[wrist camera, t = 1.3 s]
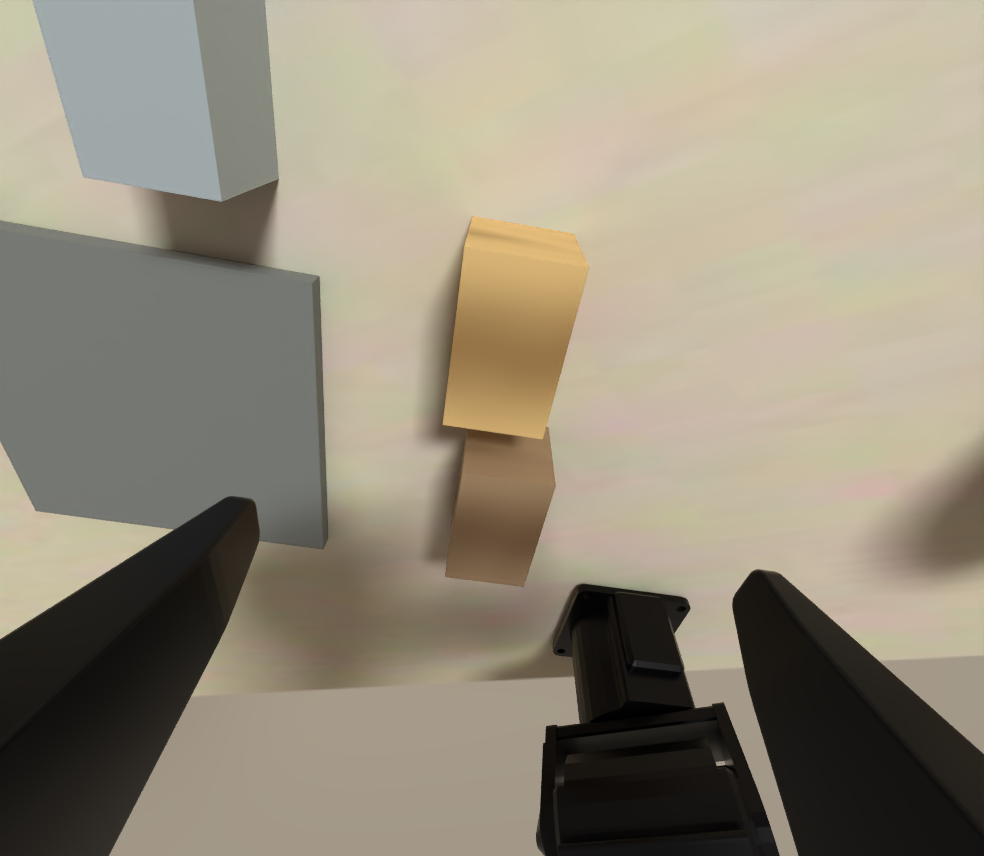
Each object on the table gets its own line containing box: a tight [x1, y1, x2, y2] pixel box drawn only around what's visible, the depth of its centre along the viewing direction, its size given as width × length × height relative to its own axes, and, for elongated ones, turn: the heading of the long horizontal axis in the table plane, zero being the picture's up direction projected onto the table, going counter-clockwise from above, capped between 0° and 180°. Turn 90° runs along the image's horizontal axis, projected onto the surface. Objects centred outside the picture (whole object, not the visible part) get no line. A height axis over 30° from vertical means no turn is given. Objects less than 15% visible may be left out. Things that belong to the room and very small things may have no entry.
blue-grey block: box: [33, 0, 279, 202], centre depth 13 cm, size 6×4×4 cm, turn 171°
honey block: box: [443, 216, 589, 439], centre depth 17 cm, size 6×4×4 cm, turn 171°
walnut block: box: [445, 427, 556, 587], centre depth 21 cm, size 6×4×4 cm, turn 171°
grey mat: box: [0, 221, 328, 549], centre depth 21 cm, size 14×14×1 cm
